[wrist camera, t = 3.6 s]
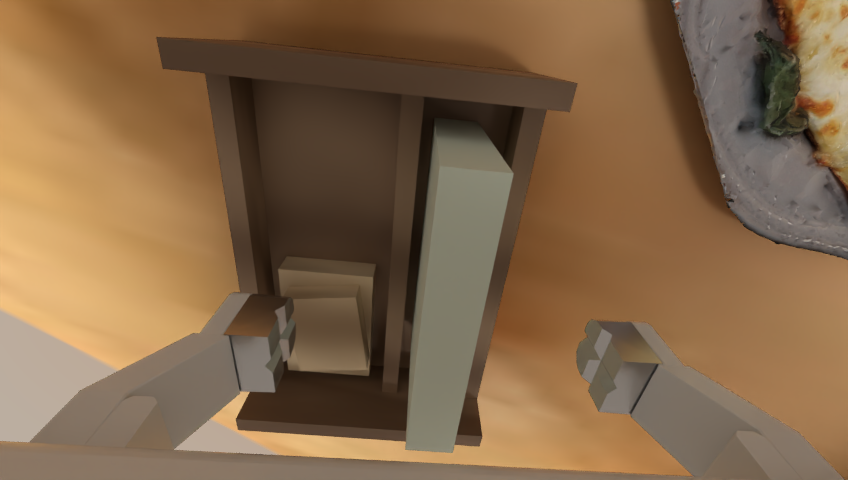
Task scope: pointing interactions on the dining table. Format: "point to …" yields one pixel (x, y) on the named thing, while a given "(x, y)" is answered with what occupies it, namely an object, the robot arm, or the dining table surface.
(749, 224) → the food plate
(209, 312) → the dining table surface
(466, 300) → the board
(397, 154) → the rack
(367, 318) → the offcut lower
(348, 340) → the offcut upper
